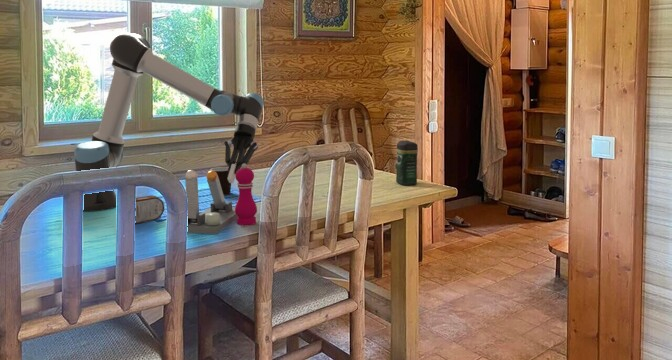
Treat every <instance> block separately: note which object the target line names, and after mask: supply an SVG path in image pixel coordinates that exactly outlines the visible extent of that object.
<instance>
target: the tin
mask: <svg viewBox="0 0 672 360" xmlns="http://www.w3.org/2000/svg"><path fill="white" fill-rule="evenodd" d="M135 198H136V208H135V211H136V216H135V221H136V223H137V224H140V223H141V224H142V223H147V222H151V221H152V222H153V221H156V219H157V220H159V219H160V218H161V217H162V215H163V214H164V212H165V203H164V201H163V200H162V199H161V198H160V197H158V196H156V195H146V196H141V197H140V196H139V197H135Z"/></svg>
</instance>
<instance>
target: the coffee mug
mask: <svg viewBox="0 0 672 360" xmlns="http://www.w3.org/2000/svg"><path fill="white" fill-rule="evenodd" d="M228 168H229V166H228V167H227V166H220V167H219V166H218V167H212V168H210V170H209V171H215V172H216V173H217V175H218V178H219V181H220V185H221V188H222V191H223V195H224V196H227V195H228V196H229V195H230V194H231V193H232V192H231V191H232V183H229V181H228V179H227V178H228V175H229V173H228Z"/></svg>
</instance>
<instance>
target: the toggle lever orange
mask: <svg viewBox="0 0 672 360" xmlns="http://www.w3.org/2000/svg"><path fill="white" fill-rule="evenodd" d="M206 181H207V184H208V187H209V191H210V194H211V197H212V201H213V202H214V204H215V208H216V210H219V211H225V204H226V203H227V201H226V199H225V195H223V191H222V188H221V185H220V181H219V178H218V175H217V173H216V172H215V171H211V170H209V171H208V172H207V173H206Z"/></svg>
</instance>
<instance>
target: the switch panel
mask: <svg viewBox="0 0 672 360" xmlns="http://www.w3.org/2000/svg"><path fill="white" fill-rule="evenodd" d="M207 213H219V214H220V224H218V225H206V214H207ZM237 218H238V216H237V215H236V213H235V207H234V206H233V201H227V202H226V204H225V211H219V210H216V208H215V204H214V201H213V202H211V203H210V207H208V208H206V209H205V210H204V211H202V212H201V213H200V212H199V215H198V216H197V223H188V226H187V227H188V233H190V234H205V235H206V234H209V235H212V234H213V235H218V234H219V233H220V232H221V231H223V230H224V229H225V228H226V227H228V226H229V225H230V224H232V223H233V222H235V221H237Z"/></svg>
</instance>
